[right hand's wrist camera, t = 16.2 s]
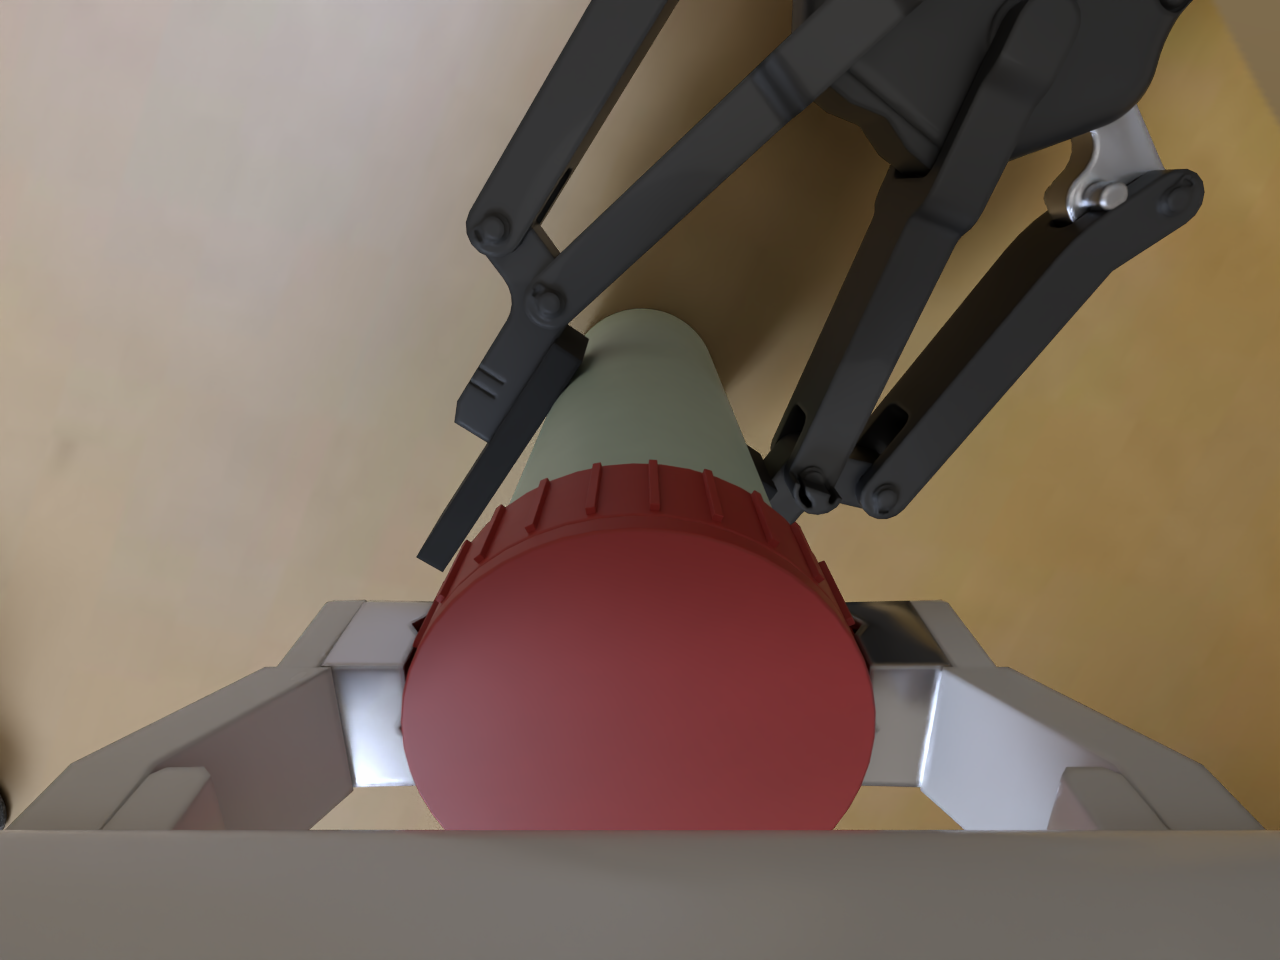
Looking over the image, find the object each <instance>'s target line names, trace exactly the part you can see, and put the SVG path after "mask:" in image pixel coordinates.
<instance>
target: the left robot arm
mask: <svg viewBox="0 0 1280 960" xmlns="http://www.w3.org/2000/svg"><path fill="white" fill-rule="evenodd" d="M678 1H679V0H591V2H590V4H589V5H588V7H587V9H586V11H585V12H584V14H583V16H582V18H581V19H580V21H579V23H578V24H577V26H576V28H575V30H574V31H573V33H572V35H571V37H570V38H569V40H568V42H567V44H566V45H565V47H564V49H563V50H562V52H561V54H560V56H559V57H558V59H557V61H556V63H555V64H554V66H553V68H552V69H551V71H550V73H549V75H548V76H547V78H546V80H545V82H544V83H543V85H542V87H541V89H540V90H539V92H538V94H537V95H536V97H535V99H534V101H533V102H532V104H531V106H530V108H529V109H528V111H527V113H526V114H525V116H524V118H523V120H522V121H521V123H520V125H519V127H518V128H517V130H516V132H515V134H514V135H513V137H512V139H511V140H510V142H509V144H508V146H507V147H506V149H505V151H504V153H503V154H502V156H501V158H500V159H499V161H498V163H497V165H496V166H495V168H494V170H493V172H492V173H491V175H490V177H489V179H488V180H487V182H486V184H485V185H484V187H483V189H482V191H481V192H480V194H479V196H478V198H477V199H476V201H475V203H474V204H473V206H472V208H471V210H470V212H469V215H468V218H467V221H466V230H467V235H468V237H469V240H470V242H471V244H472V245H473V246H474V247H475V248H476V249H477V250H478V251H479V252H480V253H482V254H484V255H486V256H487V258H488V259H489V260H490V261H491V263H492V264H493V265H494V267H495V268H496V269H497V271H498V272H499V273H500V275H501V276H502V277H503V279H504V280H505V282H506V283H507V285H508V287H509V290H510V293H511V299H512V306H511V312H510V315H509V317H508V319H507V321H506V323H505V324H504V326H503V328H502V329H501V331H500V332H499V334H498V336H497V337H496V339H495V341H494V342H493V344H492V346H491V347H490V349H489V350H488V352H487V354H486V355H485V357H484V359H483V360H482V362H481V363H480V365H479V367H478V368H477V370H476V372H475V373H474V375H473V376H472V378H471V380H470V382H469V383H468V385H467V386H466V388H465V390H464V391H463V393H462V394H461V396H460V398H459V399H458V401H457V407H456V415H455V423H456V424H458V425H460V426H461V427H463V428H465V429H466V430H468V431H469V432H471V433H473V434H474V435H476V436H478V437H479V438H481V439H482V440H484V441H486V442H487V445H486V446H485V448H484V449H483V451H482V452H481V454H480V455H479V457H478V459H477V460H476V462H475V463H474V465H473V466H472V468H471V469H470V471H469V473H468V474H467V476H466V477H465V479H464V480H463V482H462V483H461V485H460V487H459V488H458V490H457V491H456V493H455V494H454V496H453V497H452V499H451V501H450V502H449V504H448V505H447V507H446V508H445V510H444V511H443V513H442V515H441V516H440V518H439V520H438V521H437V523H436V525H435V526H434V528H433V530H432V532H431V533H430V535H429V537H428V538H427V540H426V542H425V543H424V545H423V547H422V548H421V550H420V552H419V553H418V555H417V558H419V559H420V560H422V561H424V562H426V563H427V564H429V565H431V566H433V567H435V568H436V569H438V570H440V571H442V572H443V571H444V569H445V568H446V566H447V565H448V563H449V562H450V560H451V559H452V557H453V556H454V554H455V553H456V551H457V550H458V548H459V547H460V545H461V544H462V542H463V541H464V539H465V538H466V536H467V535H468V533H469V532H470V530H471V529H472V527H473V526H474V524H475V523H476V521H477V520H478V518H479V517H480V515H481V514H482V512H483V511H484V509H485V508H486V506H487V505H488V503H489V502H490V500H491V499H492V497H493V496H494V494H495V493H496V491H497V490H498V488H499V487H500V485H501V484H502V482H503V481H504V479H505V477H506V476H507V474H508V473H509V471H510V470H511V468H512V467H513V465H514V464H515V462H516V461H517V459H518V458H519V456H520V455H521V453H522V452H523V450H524V449H525V447H526V446H527V444H528V443H529V441H530V440H531V438H532V437H533V435H534V434H535V432H536V431H537V429H538V428H539V426H540V425H541V423H542V422H543V420H544V419H545V417H546V416H547V414H548V413H549V411H550V410H551V408H552V406H553V405H554V403H555V402H556V400H557V399H558V397H559V396H560V395H561V393H562V392H563V390H564V389H565V387H566V386H567V384H568V383H569V381H570V380H571V378H572V377H573V375H574V374H575V372H576V371H577V369H578V368H579V366H580V365H581V363H582V361H583V358H584V355H585V351H586V348H587V345H588V342H589V339H588V338H587V337H585V336H584V335H582V334H581V333H580V332H578V331H577V330H575V329H574V328H572V327H571V326H569V325H568V323H569V322H570V321H571V320H572V319H573V318H575V317H576V316H577V315H578V314H579V313H580V312H581V311H582V310H583V309H584V308H586V307H587V306H588V305H589V304H590V303H591V302H592V301H593V300H594V299H595V298H596V297H598V296H599V295H600V294H601V293H602V292H603V291H604V290H605V289H606V288H607V287H608V286H610V285H611V284H612V283H613V282H614V281H615V280H616V279H617V278H618V277H619V276H620V275H622V274H623V273H624V272H625V271H626V270H627V269H628V268H629V267H630V266H631V265H632V264H634V263H635V262H636V261H637V260H638V259H639V258H640V257H641V256H642V255H643V254H644V253H646V252H647V251H648V250H649V249H650V248H651V247H652V246H653V245H654V244H655V243H657V242H658V241H659V240H660V239H661V238H662V237H663V236H664V235H665V234H666V233H667V232H669V231H670V230H671V229H672V228H673V227H674V226H675V225H676V224H677V223H678V222H679V221H681V220H682V219H683V218H684V217H685V216H686V215H687V214H688V213H689V212H690V211H691V210H693V209H694V208H695V207H696V206H697V205H698V204H699V203H700V202H701V201H702V200H703V199H705V198H706V197H707V196H708V195H709V194H710V193H711V192H712V191H713V190H714V189H715V188H717V187H718V186H719V185H720V184H721V183H722V182H723V181H724V180H725V179H726V178H727V177H729V176H730V175H731V174H732V173H733V172H734V171H735V170H736V169H737V168H738V167H740V166H741V165H742V164H743V163H744V162H745V161H746V160H747V159H748V158H749V157H750V156H752V155H753V154H754V153H755V152H756V151H757V150H758V149H759V148H760V147H761V146H762V145H764V144H765V143H766V142H767V141H768V140H769V139H770V138H771V137H772V136H773V135H774V134H776V133H777V132H778V131H779V130H780V129H781V128H782V127H783V126H784V125H785V124H787V123H788V122H789V121H790V120H791V119H793V118H794V117H795V116H796V115H798V114H799V113H800V112H801V111H803V110H804V109H805V108H806V107H807V106H808V105H810V104H811V103H812V102H813V101H814V102H815V103H816V104H817V105H818V106H820V107H821V108H822V109H823V110H825V111H826V112H827V113H830V114H832V115H835V116H837V117H840V118H842V119H844V120H847V121H849V122H852V123H854V124H857V125H858V126H859V127H860V128H861V129H862V131H863V132H864V134H865V135H866V137H867V138H868V140H869V141H870V143H871V144H872V146H873V147H874V149H875V150H876V151H877V153H878V154H879V155H880V156H881V157H882V158H883V159H885V160H886V161H887V162H888V163H889V164H891V165H890V168H889V170H888V172H887V174H886V177H885V179H884V181H883V183H882V185H881V188H880V190H879V192H878V195H877V197H876V201H875V213H874V217H873V219H872V222H871V224H870V226H869V228H868V230H867V233H866V235H865V237H864V239H863V241H862V244H861V246H860V248H859V250H858V252H857V255H856V257H855V259H854V261H853V263H852V266H851V268H850V270H849V272H848V274H847V277H846V279H845V281H844V283H843V285H842V288H841V290H840V292H839V294H838V296H837V299H836V301H835V303H834V305H833V307H832V310H831V312H830V314H829V316H828V318H827V321H826V323H825V325H824V327H823V329H822V332H821V334H820V336H819V338H818V340H817V343H816V345H815V347H814V349H813V351H812V354H811V356H810V358H809V360H808V362H807V365H806V367H805V369H804V371H803V373H802V376H801V378H800V380H799V382H798V384H797V387H796V389H795V391H794V393H793V395H792V398H791V400H790V402H789V404H788V406H787V409H786V411H785V413H784V415H783V418H782V420H781V422H780V424H779V426H778V429H777V431H776V433H775V435H774V437H773V440H772V443H771V448H770V449H771V451H770V452H769V454H768V455H767V456H766V457H765V459H764V460H763V459H762V457H761V454H760V453H758V452H757V451H755V450H754V449H752V448H751V447H749V446H748V445H747V447H748V450H749V452H750V455H751V457H752V460H753V462H754V465H755V467H756V470H757V472H758V475H759V477H760V480H761V482H762V485H763V487H764V489H765V492H766V494H767V497H768V499H769V502H770V504H771V507H772V508H773V509H774V510H775V511H776V512H777V513H779V514H780V515H781V516H782V517H784V518H785V519H786V520H787V522H788V523H789V524H790V525H791V524H793V523H794V522H795V521H796V520H797V519H798V517H799V516H800V515H801V514H802V513H803V512H804V511H805V512H807V513H809V514H816V515H819V514H824V513H828V512H830V511H831V510H833V509H834V508H836V507H837V506H838V505H839V503H841V504H846V505H850V506H854V507H858V508H862V509H863V510H864V511H865V512H866V513H867V514H868V515H869V516H872V517H874V518H877V519H888V518H891V517H894V516H896V515H897V514H899V513H900V512H901V511H902V510H904V509H905V507H906V506H907V505H908V504H909V503H910V502H911V501H912V499H913V498H914V497H915V496H916V495H917V494H918V493H919V491H920V490H921V489H922V488H923V487H924V486H925V485H926V483H927V482H928V481H929V480H930V479H931V478H932V477H933V475H934V474H935V473H936V472H937V471H938V470H939V469H940V467H941V466H942V465H943V464H944V463H945V462H946V461H947V459H948V458H949V457H950V456H951V455H952V454H953V453H954V451H955V450H956V449H957V448H958V447H959V446H960V445H961V443H962V442H963V441H964V440H965V439H966V438H967V436H968V435H969V434H970V433H971V432H972V431H973V430H974V428H975V427H976V426H977V425H978V424H979V423H980V422H981V420H982V419H983V418H984V417H985V416H986V415H987V414H988V412H989V411H990V410H991V409H992V408H993V407H994V406H995V404H996V403H997V402H998V401H999V400H1000V399H1001V398H1002V396H1003V395H1004V394H1005V393H1006V392H1007V391H1008V390H1009V388H1010V387H1011V386H1012V385H1013V384H1014V383H1015V382H1016V380H1017V379H1018V378H1019V377H1020V376H1021V375H1022V374H1023V372H1024V371H1025V370H1026V369H1027V368H1028V367H1029V366H1030V364H1031V363H1032V362H1033V361H1034V360H1035V359H1036V358H1037V356H1038V355H1039V354H1040V353H1041V352H1042V351H1043V350H1044V348H1045V347H1046V346H1047V345H1048V344H1049V343H1050V342H1051V340H1052V339H1053V338H1054V337H1055V336H1056V335H1057V334H1058V332H1059V331H1060V330H1061V329H1062V328H1063V327H1064V326H1065V324H1066V323H1067V322H1068V321H1069V320H1070V319H1071V318H1072V316H1073V315H1074V314H1075V313H1076V312H1077V311H1078V310H1079V308H1080V307H1081V306H1082V305H1083V304H1084V303H1085V302H1086V300H1087V299H1088V298H1089V297H1090V296H1091V295H1092V294H1093V292H1094V291H1095V290H1096V289H1097V288H1098V287H1099V286H1100V284H1101V283H1102V282H1103V281H1104V280H1105V279H1106V278H1107V276H1108V275H1109V274H1110V273H1111V272H1112V271H1113V270H1115V269H1116V268H1118V267H1119V266H1121V265H1122V264H1124V263H1125V262H1127V261H1129V260H1130V259H1132V258H1133V257H1135V256H1136V255H1138V254H1139V253H1141V252H1142V251H1144V250H1146V249H1147V248H1149V247H1150V246H1152V245H1153V244H1155V243H1156V242H1158V241H1159V240H1161V239H1163V238H1164V237H1166V236H1167V235H1169V234H1170V233H1172V232H1173V231H1175V230H1176V229H1178V228H1180V227H1181V226H1183V225H1184V224H1186V223H1187V222H1188V221H1189V220H1190V219H1191V218H1192V217H1194V216H1195V215H1196V213H1197V211H1198V210H1199V208H1200V206H1201V205H1202V201H1203V197H1204V186H1203V181H1202V180H1201V178H1200V177H1199V176H1198V174H1197V173H1195V172H1193V171H1191V170H1188V169H1174V170H1165V168H1164V167H1163V165H1162V163H1161V160H1160V158H1159V156H1158V153H1157V151H1156V149H1155V146H1154V144H1153V142H1152V139H1151V137H1150V135H1149V132H1148V130H1147V127H1146V125H1145V123H1144V120H1143V118H1142V116H1141V113H1140V111H1139V109H1138V106H1137V103H1138V102H1139V100H1140V99H1141V98H1142V96H1143V95H1144V94H1145V92H1146V90H1147V89H1148V87H1149V85H1150V83H1151V81H1152V79H1153V77H1154V74H1155V71H1156V67H1157V64H1158V61H1159V57H1160V54H1161V51H1162V48H1163V46H1164V43H1165V41H1166V39H1167V37H1168V34H1169V32H1170V31H1171V29H1172V27H1173V25H1174V23H1175V22H1176V20H1177V18H1178V17H1179V16H1180V14H1181V13H1182V12H1183V11H1184V9H1185V8H1186V7H1187V6H1188V5H1189V4H1190V3H1191V2H1192V0H793V9H792V32H791V35H790V36H788V37H787V38H786V39H785V40H784V41H783V42H782V43H781V44H780V45H779V46H778V47H777V48H776V49H775V50H774V51H773V52H772V53H771V54H770V55H769V56H767V57H766V58H765V59H764V60H763V61H762V62H761V63H760V64H759V65H758V66H757V67H756V68H755V69H754V70H753V71H752V72H751V73H750V74H749V75H748V76H747V77H746V78H745V79H743V80H742V81H741V82H740V83H739V84H738V85H737V86H736V87H735V88H734V89H733V90H732V91H731V92H730V93H729V94H728V95H727V96H726V97H725V98H723V99H722V100H721V101H720V102H719V103H718V104H717V105H716V106H715V107H714V108H713V109H712V110H711V111H710V112H709V113H708V114H707V115H706V116H705V117H703V118H702V119H701V120H700V121H699V122H698V123H697V124H696V125H695V126H694V127H693V128H692V129H691V130H690V131H689V132H688V133H687V134H686V135H685V136H683V137H682V138H681V139H680V140H679V141H678V142H677V143H676V144H675V145H674V146H673V147H672V148H671V149H670V150H669V151H668V152H667V153H666V154H665V155H663V156H662V157H661V158H660V159H659V160H658V161H657V162H656V163H655V164H654V165H653V166H652V167H651V168H650V169H649V170H648V171H647V172H646V173H645V174H643V175H642V176H641V177H640V178H639V179H638V180H637V181H636V182H635V183H634V184H633V185H632V186H631V187H630V188H629V189H628V190H627V191H626V192H625V193H623V194H622V195H621V196H620V197H619V198H618V199H617V200H616V201H615V202H614V203H613V204H612V205H611V206H610V207H609V208H608V209H607V210H606V211H605V212H603V213H602V214H601V215H600V216H599V217H598V218H597V219H596V220H595V221H594V222H593V223H592V224H591V225H590V226H589V227H588V228H587V229H586V230H585V231H583V232H582V233H581V234H580V235H579V236H578V237H577V238H576V239H575V240H574V241H573V242H572V243H571V244H570V245H569V246H568V247H567V248H566V249H565V250H563V251H562V252H561V253H560V252H559V251H558V249H557V248H556V246H555V245H554V244H553V242H552V241H551V240H550V238H549V237H548V235H547V234H546V233H545V231H544V230H543V228H542V227H541V224H542V222H543V221H544V219H545V218H546V216H547V214H548V213H549V211H550V209H551V208H552V206H553V205H554V203H555V201H556V200H557V198H558V196H559V195H560V193H561V191H562V190H563V188H564V187H565V185H566V183H567V182H568V180H569V178H570V177H571V175H572V174H573V172H574V170H575V169H576V167H577V165H578V164H579V162H580V161H581V159H582V157H583V156H584V154H585V152H586V151H587V149H588V148H589V146H590V144H591V143H592V141H593V139H594V138H595V136H596V135H597V133H598V131H599V130H600V128H601V126H602V125H603V123H604V122H605V120H606V118H607V117H608V115H609V113H610V112H611V110H612V109H613V107H614V105H615V104H616V102H617V100H618V99H619V97H620V96H621V94H622V92H623V91H624V89H625V87H626V86H627V84H628V83H629V81H630V79H631V78H632V76H633V74H634V73H635V71H636V70H637V68H638V66H639V65H640V63H641V61H642V60H643V58H644V57H645V55H646V53H647V52H648V50H649V48H650V47H651V45H652V44H653V42H654V40H655V39H656V37H657V35H658V34H659V32H660V31H661V29H662V27H663V26H664V24H665V22H666V21H667V19H668V17H669V16H670V14H671V13H672V11H673V9H674V8H675V6H676V4H677V3H678ZM1068 139H1071V142H1072V153H1071V156H1070V160H1069V162H1068V164H1067V166H1066V168H1065V169H1064V170H1063V171H1062V172H1061V174H1060V175H1059V176H1058V177H1057V178H1056V179H1055V180H1054V181H1053V182H1052V184H1051V186H1049V187H1048V189H1047V190H1046V191H1045V194H1044V202H1045V204H1046V206H1047V209H1048V211H1046V212H1045V213H1044V214H1042V215H1041V216H1040V217H1038V218H1037V219H1036V220H1035V221H1033V222H1032V223H1031V224H1030V225H1029V226H1028V227H1027V228H1026V229H1025V230H1024V231H1023V232H1021V233H1020V234H1019V235H1018V236H1017V238H1016V239H1015V240H1014V241H1013V242H1012V243H1011V244H1010V245H1009V246H1008V248H1007V249H1006V250H1005V251H1004V252H1003V253H1002V255H1001V256H1000V257H999V258H998V260H997V261H996V262H995V263H994V264H993V266H992V267H991V268H990V269H989V271H988V272H987V273H986V274H985V276H984V277H983V278H982V279H981V280H980V282H979V283H978V284H977V285H976V287H975V288H974V289H973V290H972V291H971V293H970V294H969V295H968V296H967V298H966V299H965V300H964V301H963V303H962V304H961V305H960V306H959V307H958V309H957V310H956V311H955V312H954V314H953V315H952V316H951V317H950V318H949V320H948V321H947V322H946V323H945V325H944V326H943V327H942V328H941V330H940V331H939V332H938V333H937V334H936V336H935V337H934V338H933V339H932V341H931V342H930V343H929V344H928V345H927V347H926V348H925V349H924V350H923V352H922V353H921V354H920V355H919V357H918V358H917V359H916V360H915V361H914V363H913V364H912V365H911V366H910V368H909V369H908V370H907V371H906V372H905V374H904V375H903V376H902V377H901V379H900V380H899V381H898V382H897V384H896V385H895V386H894V387H893V388H892V390H891V391H890V392H889V393H888V395H887V396H886V397H885V398H884V399H883V401H882V402H881V403H880V404H879V406H878V407H877V408H876V409H875V411H874V412H873V413H872V411H873V409H874V407H875V405H876V403H877V401H878V399H879V397H880V395H881V393H882V391H883V389H884V387H885V385H886V383H887V381H888V379H889V377H890V375H891V373H892V371H893V369H894V367H895V365H896V363H897V361H898V359H899V357H900V355H901V353H902V351H903V349H904V347H905V345H906V343H907V341H908V339H909V337H910V335H911V333H912V331H913V329H914V327H915V325H916V323H917V321H918V319H919V317H920V315H921V313H922V311H923V309H924V307H925V305H926V303H927V301H928V299H929V297H930V295H931V293H932V291H933V289H934V287H935V285H936V283H937V281H938V279H939V277H940V275H941V273H942V271H943V269H944V267H945V265H946V263H947V261H948V259H949V257H950V255H951V253H952V251H953V249H954V247H955V245H956V243H957V242H958V240H959V239H960V238H961V236H963V235H964V234H965V233H966V232H967V231H969V230H970V229H971V228H972V227H973V226H974V224H975V223H976V222H977V220H978V219H979V217H980V215H981V214H982V212H983V210H984V208H985V206H986V204H987V202H988V200H989V198H990V196H991V194H992V192H993V190H994V188H995V186H996V184H997V182H998V180H999V178H1000V176H1001V174H1002V172H1003V170H1004V168H1005V166H1006V165H1007V163H1008V161H1011V160H1014V159H1016V158H1019V157H1022V156H1025V155H1027V154H1030V153H1033V152H1036V151H1038V150H1041V149H1044V148H1047V147H1049V146H1052V145H1055V144H1057V143H1060V142H1063V141H1066V140H1068ZM871 413H872V414H871Z"/></svg>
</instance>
